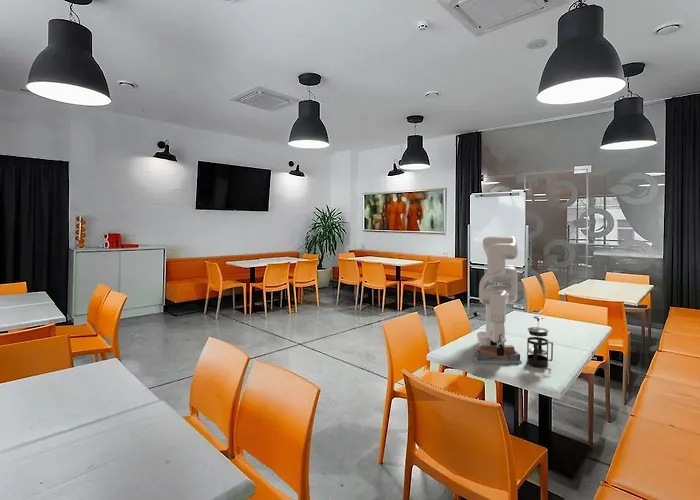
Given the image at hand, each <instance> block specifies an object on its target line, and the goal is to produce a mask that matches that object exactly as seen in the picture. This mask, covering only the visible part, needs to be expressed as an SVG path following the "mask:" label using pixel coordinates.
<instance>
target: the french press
mask: <svg viewBox="0 0 700 500" xmlns="http://www.w3.org/2000/svg"><path fill="white" fill-rule="evenodd" d="M533 318H534V319H536V321H537V326H532V327H527V331H528V333H529V335H531V336H530V337H528V338H527V340H526V341H527V342H526V345H527V349H526V350H527V351H526V354H527V355H526V359H527V360H526V365H528V366H530V367H534V368H538V369H539V368H540V369H545V368H548V367H549V362H552V361H553V359H554V358H553V357H554V343H553V341H549V339H547V338H545V337H547V336H548V332H550V331H549V329H547V328H544V327H539V325H540V323H539V322H540V320H543V319H544V317H542V316H537V315H536V316H533ZM533 340H535V341H533ZM536 340H537V341H536ZM530 344H531V345H533V348H529V347H530ZM549 344H551V347H550V348H551V350H550V351H551V353H550V354H551V355H550V356H551V357H550V359H549ZM542 346H546V349H543V347H542Z"/></svg>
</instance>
